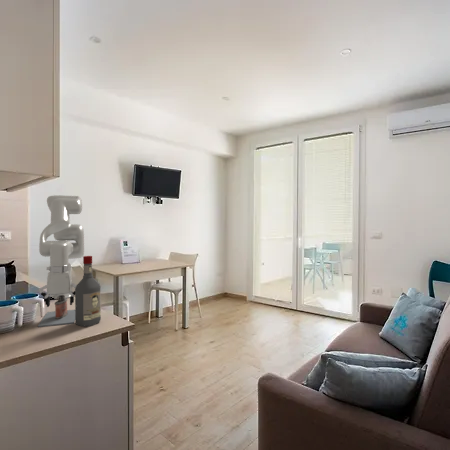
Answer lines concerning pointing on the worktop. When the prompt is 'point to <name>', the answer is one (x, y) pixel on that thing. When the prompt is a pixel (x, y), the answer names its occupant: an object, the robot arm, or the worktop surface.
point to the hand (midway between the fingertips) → (59, 305)
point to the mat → (51, 321)
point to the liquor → (87, 297)
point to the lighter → (61, 307)
